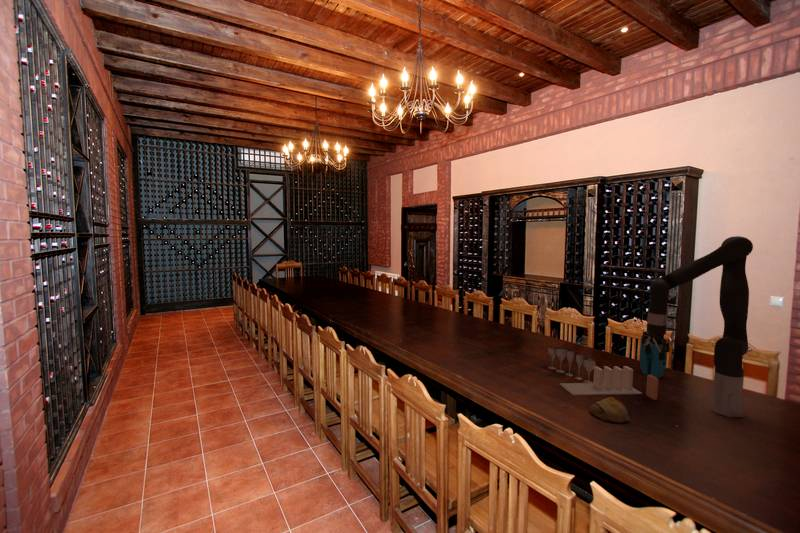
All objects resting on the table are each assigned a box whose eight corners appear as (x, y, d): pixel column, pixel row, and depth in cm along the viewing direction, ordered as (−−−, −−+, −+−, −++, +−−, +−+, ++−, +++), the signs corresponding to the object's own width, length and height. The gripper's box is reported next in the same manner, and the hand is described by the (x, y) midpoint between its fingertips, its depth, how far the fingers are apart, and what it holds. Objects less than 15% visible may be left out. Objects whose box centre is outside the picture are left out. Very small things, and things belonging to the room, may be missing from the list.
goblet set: (545, 367, 213) (546, 344, 212) (552, 366, 216) (553, 343, 215) (589, 385, 189) (591, 359, 188) (597, 383, 191) (598, 358, 190)
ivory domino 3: (622, 389, 182) (623, 369, 181) (618, 389, 182) (620, 369, 181) (615, 385, 187) (616, 366, 186) (612, 385, 187) (613, 366, 186)
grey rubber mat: (642, 394, 178) (642, 393, 178) (573, 395, 176) (573, 394, 176) (624, 383, 191) (624, 382, 191) (559, 384, 189) (559, 383, 189)
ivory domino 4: (631, 389, 182) (633, 369, 181) (628, 389, 182) (630, 369, 181) (625, 385, 187) (626, 366, 186) (622, 385, 187) (623, 366, 186)
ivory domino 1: (602, 390, 181) (603, 370, 180) (599, 390, 181) (600, 370, 180) (596, 386, 186) (597, 366, 185) (593, 386, 186) (594, 366, 185)
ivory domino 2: (612, 390, 182) (613, 370, 181) (609, 390, 181) (610, 370, 181) (605, 385, 187) (607, 366, 186) (602, 385, 186) (603, 366, 186)
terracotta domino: (657, 399, 173) (658, 378, 172) (653, 399, 173) (655, 378, 172) (649, 395, 178) (650, 374, 177) (645, 395, 178) (647, 374, 177)
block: (666, 378, 199) (668, 341, 197) (659, 379, 197) (662, 342, 195) (644, 370, 210) (646, 335, 208) (638, 371, 208) (640, 336, 206)
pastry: (632, 417, 156) (634, 399, 155) (624, 428, 147) (625, 408, 146) (596, 406, 166) (597, 388, 165) (586, 415, 157) (587, 397, 156)
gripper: (677, 326, 165) (674, 362, 167) (653, 319, 179) (650, 352, 181) (660, 326, 165) (657, 362, 166) (638, 319, 179) (635, 352, 180)
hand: (654, 357), depth 173 cm, fingers open, 8 cm apart
